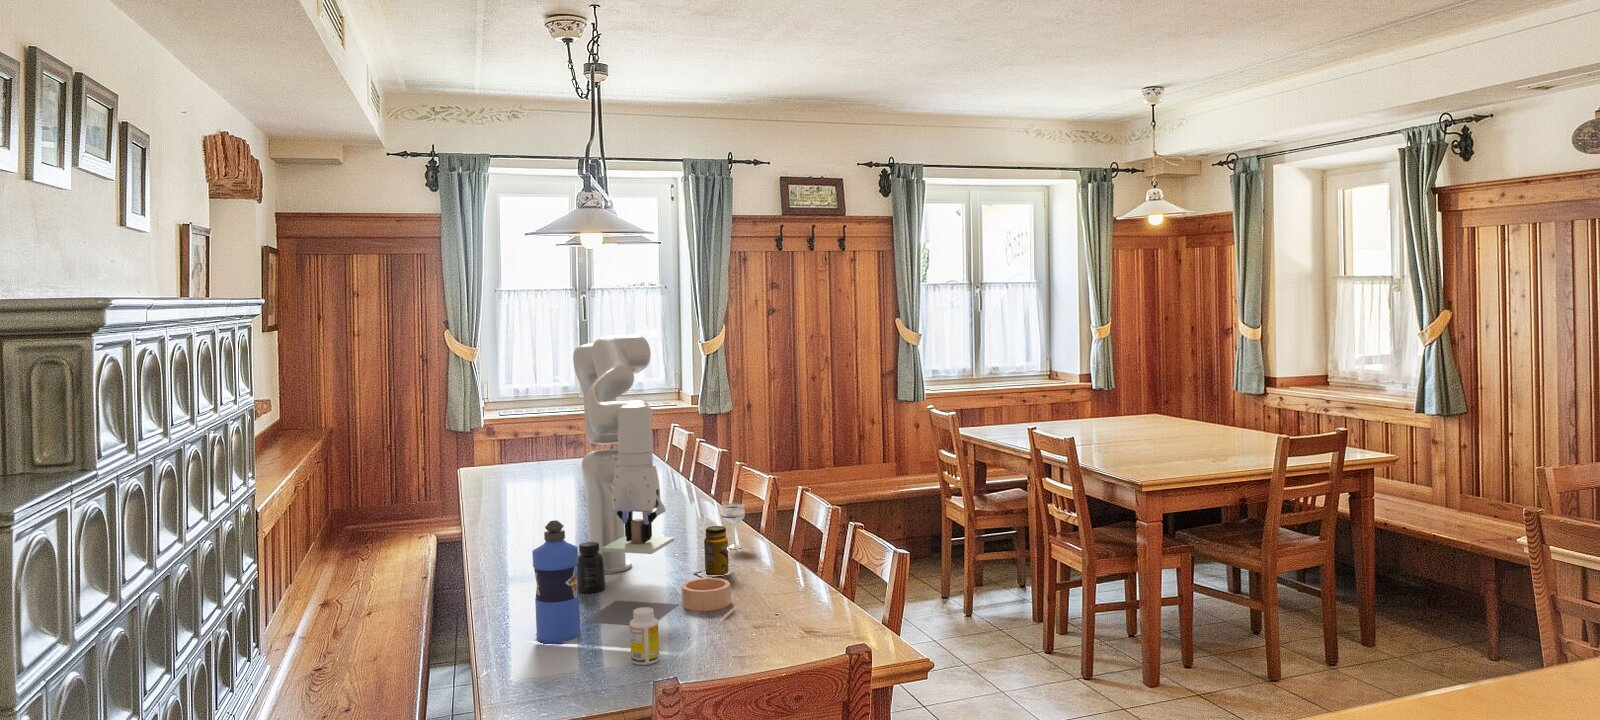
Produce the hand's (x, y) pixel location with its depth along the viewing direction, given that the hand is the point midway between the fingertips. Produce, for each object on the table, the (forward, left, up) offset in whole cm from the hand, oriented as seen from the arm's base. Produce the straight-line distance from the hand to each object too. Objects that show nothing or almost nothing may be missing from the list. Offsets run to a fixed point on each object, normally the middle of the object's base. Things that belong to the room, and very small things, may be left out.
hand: (638, 539), depth 230 cm
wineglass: (0, +62, -17) cm, 64 cm away
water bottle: (-11, -18, -17) cm, 27 cm away
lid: (0, 0, -1) cm, 1 cm away
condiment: (+4, +35, -17) cm, 39 cm away
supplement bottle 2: (+13, -27, -17) cm, 35 cm away
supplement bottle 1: (-20, +14, -17) cm, 30 cm away
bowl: (+12, +9, -17) cm, 23 cm away
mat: (-2, -1, -17) cm, 17 cm away
